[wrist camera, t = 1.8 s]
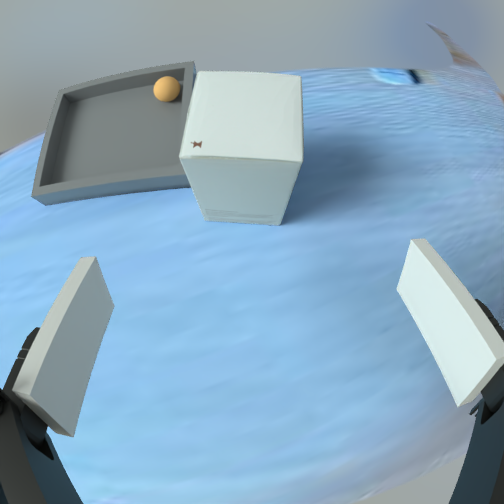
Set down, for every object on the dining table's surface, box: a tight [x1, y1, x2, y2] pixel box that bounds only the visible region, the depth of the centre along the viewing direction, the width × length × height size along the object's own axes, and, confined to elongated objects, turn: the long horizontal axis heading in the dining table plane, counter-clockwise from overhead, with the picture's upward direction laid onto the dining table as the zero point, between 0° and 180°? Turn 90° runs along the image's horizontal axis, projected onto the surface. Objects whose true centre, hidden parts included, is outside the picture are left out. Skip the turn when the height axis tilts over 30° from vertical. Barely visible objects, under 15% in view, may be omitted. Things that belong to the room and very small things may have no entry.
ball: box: [153, 76, 180, 102], centre depth 30 cm, size 3×3×3 cm
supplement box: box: [179, 71, 304, 225], centre depth 23 cm, size 7×7×13 cm
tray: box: [31, 61, 197, 206], centre depth 29 cm, size 18×15×3 cm
